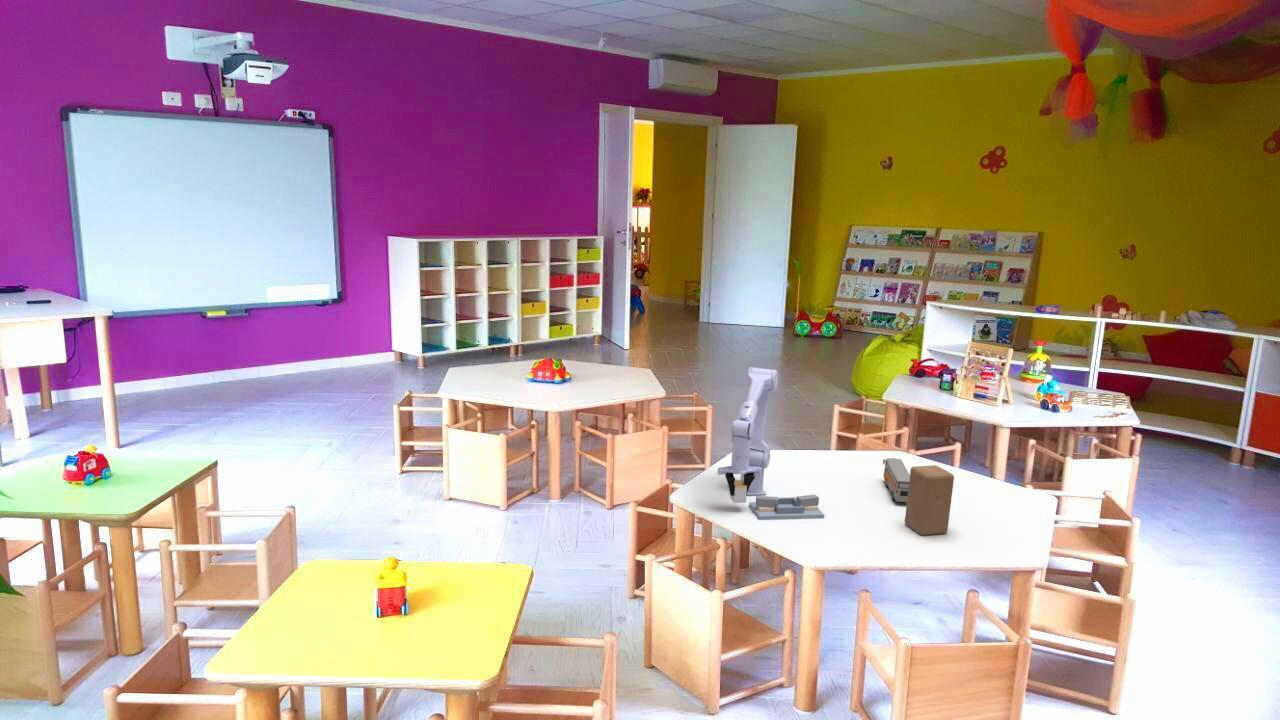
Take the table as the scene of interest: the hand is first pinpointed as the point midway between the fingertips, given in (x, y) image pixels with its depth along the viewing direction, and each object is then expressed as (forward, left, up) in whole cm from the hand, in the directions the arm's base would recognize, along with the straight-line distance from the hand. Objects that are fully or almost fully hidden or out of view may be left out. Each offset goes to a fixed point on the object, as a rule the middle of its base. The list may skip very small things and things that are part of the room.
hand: (738, 494), depth 281 cm
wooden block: (+20, +57, -6) cm, 61 cm away
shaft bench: (+3, +16, -5) cm, 17 cm away
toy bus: (-11, +62, -6) cm, 63 cm away
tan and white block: (0, 0, -2) cm, 2 cm away
